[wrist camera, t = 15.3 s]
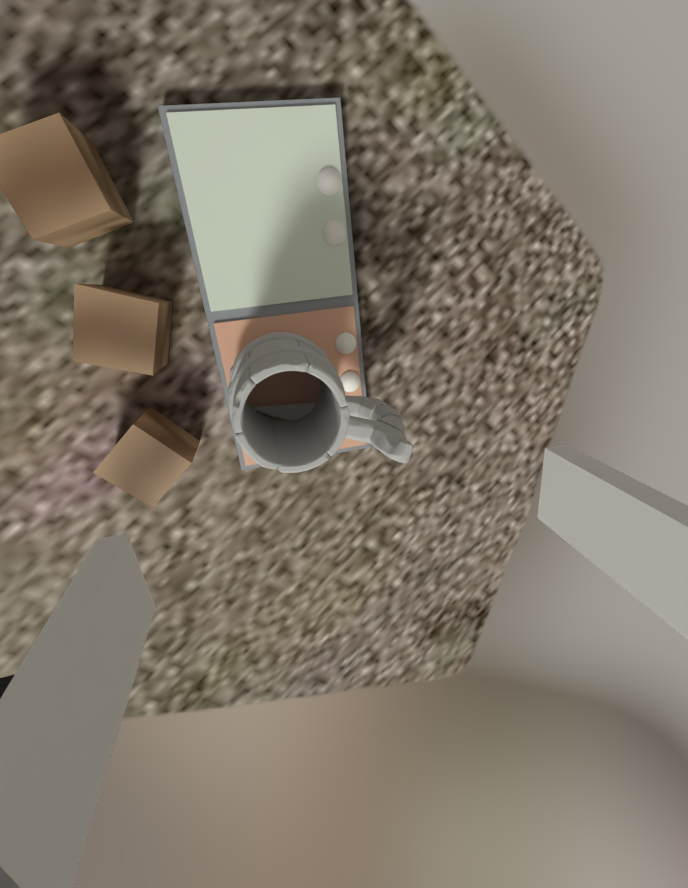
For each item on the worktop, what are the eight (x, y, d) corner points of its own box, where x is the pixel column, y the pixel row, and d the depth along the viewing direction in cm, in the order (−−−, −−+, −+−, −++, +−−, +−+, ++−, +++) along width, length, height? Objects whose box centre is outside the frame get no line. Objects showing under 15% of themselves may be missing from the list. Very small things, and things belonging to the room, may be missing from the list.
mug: (240, 317, 28) (227, 334, 17) (391, 357, 31) (464, 392, 20) (222, 418, 30) (201, 491, 19) (365, 445, 33) (417, 520, 22)
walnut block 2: (103, 285, 27) (74, 283, 22) (173, 301, 28) (158, 302, 24) (100, 350, 28) (72, 360, 24) (167, 363, 29) (152, 375, 25)
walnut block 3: (115, 448, 31) (92, 472, 26) (150, 405, 30) (133, 424, 26) (166, 480, 32) (152, 507, 28) (200, 440, 32) (191, 463, 28)
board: (161, 113, 24) (156, 103, 23) (337, 104, 25) (341, 94, 24) (242, 465, 33) (241, 472, 32) (367, 442, 35) (371, 448, 33)
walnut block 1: (23, 169, 24) (-27, 144, 20) (93, 143, 24) (58, 112, 20) (69, 247, 25) (32, 239, 21) (134, 222, 26) (110, 209, 22)
